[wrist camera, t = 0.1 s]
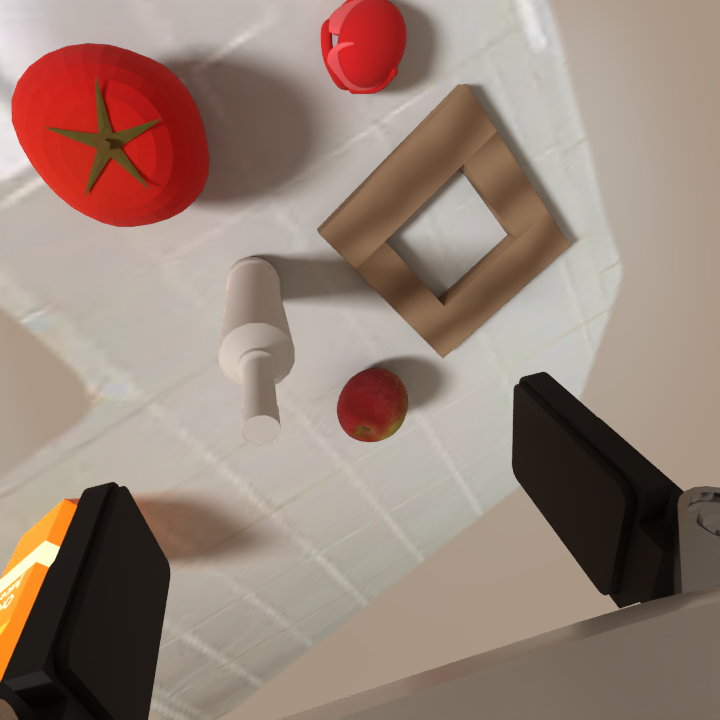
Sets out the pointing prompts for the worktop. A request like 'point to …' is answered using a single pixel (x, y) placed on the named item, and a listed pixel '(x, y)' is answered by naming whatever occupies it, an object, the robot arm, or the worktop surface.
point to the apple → (372, 405)
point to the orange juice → (29, 575)
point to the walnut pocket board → (417, 184)
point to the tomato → (112, 133)
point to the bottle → (256, 345)
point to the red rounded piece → (364, 45)
